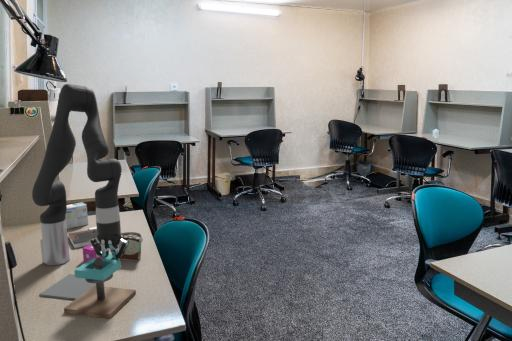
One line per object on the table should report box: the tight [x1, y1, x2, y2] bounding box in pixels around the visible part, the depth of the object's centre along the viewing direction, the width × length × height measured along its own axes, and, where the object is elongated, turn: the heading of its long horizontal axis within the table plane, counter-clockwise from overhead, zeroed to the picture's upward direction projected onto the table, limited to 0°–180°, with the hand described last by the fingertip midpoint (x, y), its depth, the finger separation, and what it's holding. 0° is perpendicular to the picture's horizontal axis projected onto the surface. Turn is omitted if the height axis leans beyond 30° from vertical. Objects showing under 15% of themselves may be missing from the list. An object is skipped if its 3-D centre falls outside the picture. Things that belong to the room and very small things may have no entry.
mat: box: [38, 273, 96, 301], centre depth 151 cm, size 15×16×1 cm
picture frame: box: [67, 229, 123, 249], centre depth 200 cm, size 16×2×22 cm
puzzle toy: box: [81, 245, 103, 263], centre depth 174 cm, size 6×6×6 cm
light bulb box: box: [66, 201, 89, 230], centre depth 218 cm, size 11×7×11 cm, turn 130°
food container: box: [119, 231, 144, 262], centre depth 176 cm, size 12×6×10 cm, turn 74°
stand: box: [63, 258, 137, 319], centre depth 138 cm, size 16×16×16 cm
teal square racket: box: [74, 252, 122, 281], centre depth 140 cm, size 10×15×2 cm, turn 167°
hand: (111, 267), depth 145 cm, fingers closed on teal square racket, 2 cm apart
